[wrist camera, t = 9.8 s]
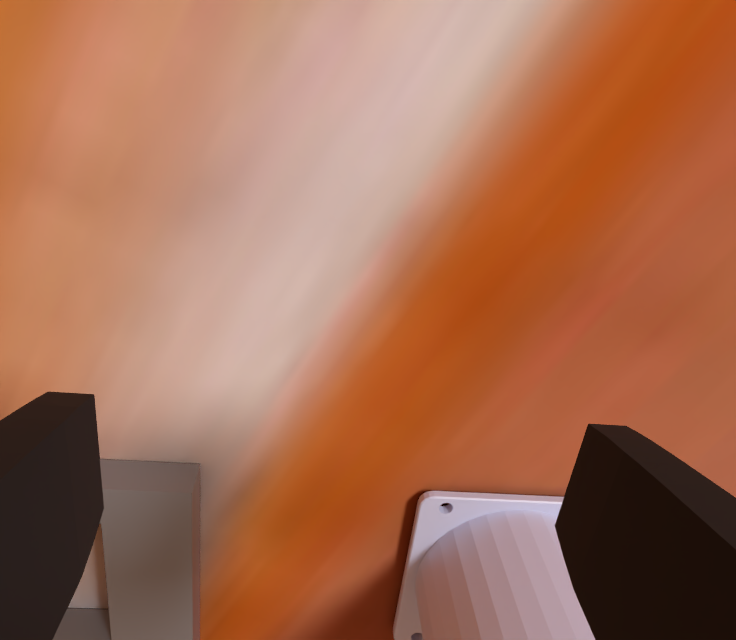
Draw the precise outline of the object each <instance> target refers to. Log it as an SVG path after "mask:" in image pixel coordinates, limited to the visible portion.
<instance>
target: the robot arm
mask: <svg viewBox="0 0 736 640" xmlns="http://www.w3.org/2000/svg"><path fill="white" fill-rule="evenodd" d="M443 503H450V504H448V505H447V506H440V505H442V504H443ZM103 510H104V502H103V490H102V479H101V467H100V456H99V444H98V433H97V421H96V410H95V398H94V394H78V393H61V392H47V393H45V394H43V395H41V396H40V397H38V398H36V399H34V400H33V401H31V402H29V403H28V404H26V405H24V406H23V407H21V408H20V409H18V410H16V411H15V412H13V413H12V414H10V415H8V416H7V417H5V418H4V419H2V420H0V640H53V638H54V636H55V633H56V631H57V629H58V627H59V625H60V623H61V621H62V618H63V616H64V614H65V612H66V610H67V608H68V606H69V603H70V601H71V599H72V597H73V595H74V593H75V590H76V588H77V586H78V584H79V582H80V579H81V577H82V574H83V572H84V569H85V566H86V563H87V560H88V557H89V554H90V551H91V548H92V545H93V542H94V539H95V536H96V532H97V529H98V526H99V523H100V520H101V517H102V513H103ZM393 637H394V640H736V498H735V497H734V496H732V495H731V494H730V493H728V492H727V491H725V490H724V489H722V488H721V487H719V486H718V485H716V484H715V483H713V482H712V481H711V480H709V479H708V478H706V477H705V476H703V475H702V474H700V473H699V472H697V471H696V470H695V469H693V468H692V467H690V466H689V465H687V464H686V463H684V462H683V461H681V460H680V459H678V458H677V457H675V456H674V455H672V454H671V453H669V452H668V451H666V450H665V449H663V448H662V447H660V446H659V445H657V444H656V443H654V442H653V441H651V440H650V439H648V438H646V437H645V436H643V435H641V434H640V433H638V432H636V431H634V430H633V429H631V428H629V427H627V426H618V425H601V424H588V426H587V429H586V432H585V435H584V438H583V441H582V445H581V448H580V451H579V454H578V457H577V460H576V463H575V466H574V469H573V472H572V475H571V478H570V481H569V484H568V487H567V490H566V493H565V496H564V497H558V496H536V495H515V494H493V493H471V492H450V491H428V492H425V493H423V494H422V495H421V496H420V497H419V500H418V503H417V508H416V513H415V519H414V524H413V529H412V534H411V539H410V544H409V549H408V554H407V559H406V564H405V569H404V574H403V579H402V585H401V590H400V595H399V600H398V605H397V610H396V615H395V620H394V625H393Z"/></svg>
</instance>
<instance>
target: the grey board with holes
mask: <svg viewBox="0 0 736 640" xmlns="http://www.w3.org/2000/svg"><path fill="white" fill-rule="evenodd" d="M100 467H101V479H102V490H103V502H104V510H103V513H102V517H101V520H100V523H99V524H101V527H102V539H103V550H104V561H105V572H106V584H107V595H108V606H109V609H71V608H67V610H66V612H65V614H64V616H63V618H62V621H61V623H60V625H59V627H58V629H57V631H56V633H55V636H54V638H53V640H200V464H189V463H169V462H149V461H128V460H108V459H100Z"/></svg>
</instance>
